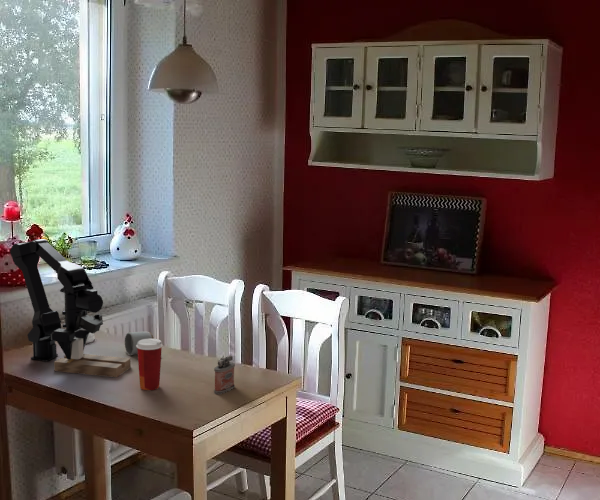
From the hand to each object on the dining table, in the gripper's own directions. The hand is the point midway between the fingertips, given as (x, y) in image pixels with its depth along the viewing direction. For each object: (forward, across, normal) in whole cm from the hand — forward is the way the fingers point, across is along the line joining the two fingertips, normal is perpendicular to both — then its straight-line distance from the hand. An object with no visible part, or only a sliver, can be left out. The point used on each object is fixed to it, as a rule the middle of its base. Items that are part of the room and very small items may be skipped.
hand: (75, 355), depth 237 cm
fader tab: (+2, 0, 0) cm, 2 cm away
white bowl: (+4, +28, +14) cm, 31 cm away
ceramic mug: (+4, +21, -12) cm, 24 cm away
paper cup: (+4, -10, -30) cm, 31 cm away
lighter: (+4, -6, -52) cm, 52 cm away
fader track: (+4, 0, -6) cm, 7 cm away
